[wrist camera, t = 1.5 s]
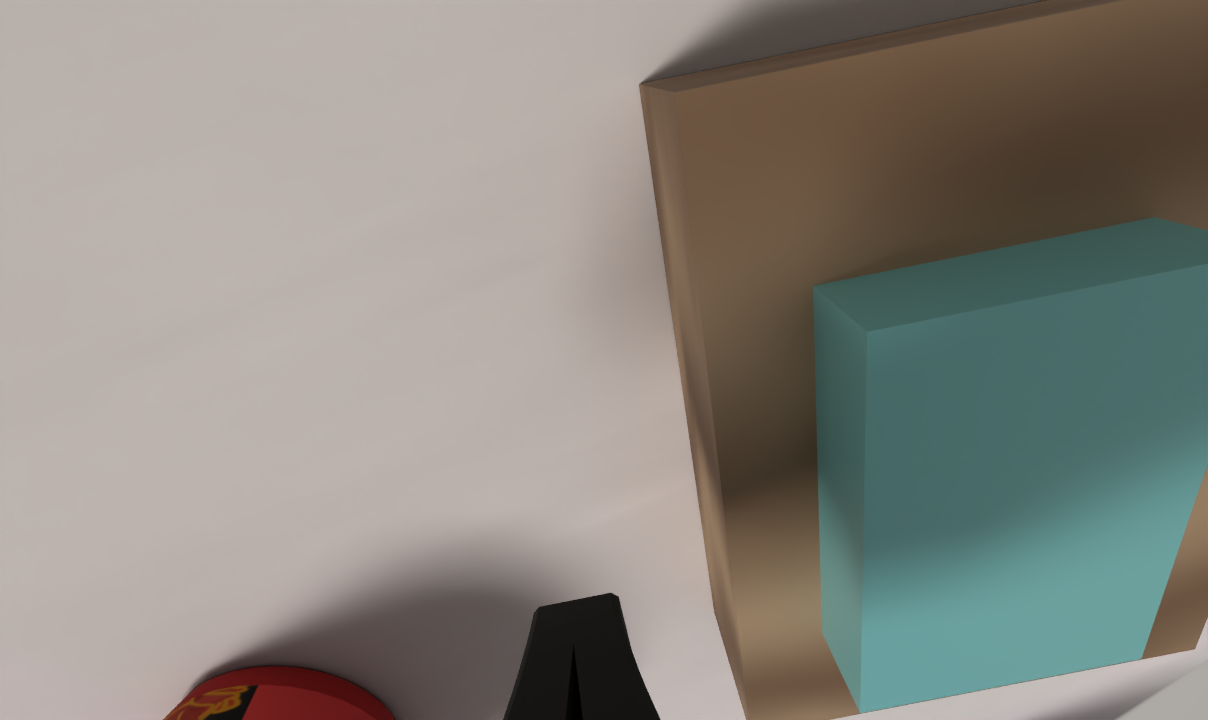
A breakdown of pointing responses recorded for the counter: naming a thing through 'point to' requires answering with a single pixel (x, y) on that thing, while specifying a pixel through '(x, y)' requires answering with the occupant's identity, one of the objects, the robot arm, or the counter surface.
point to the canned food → (279, 697)
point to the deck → (891, 255)
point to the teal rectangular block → (1008, 457)
